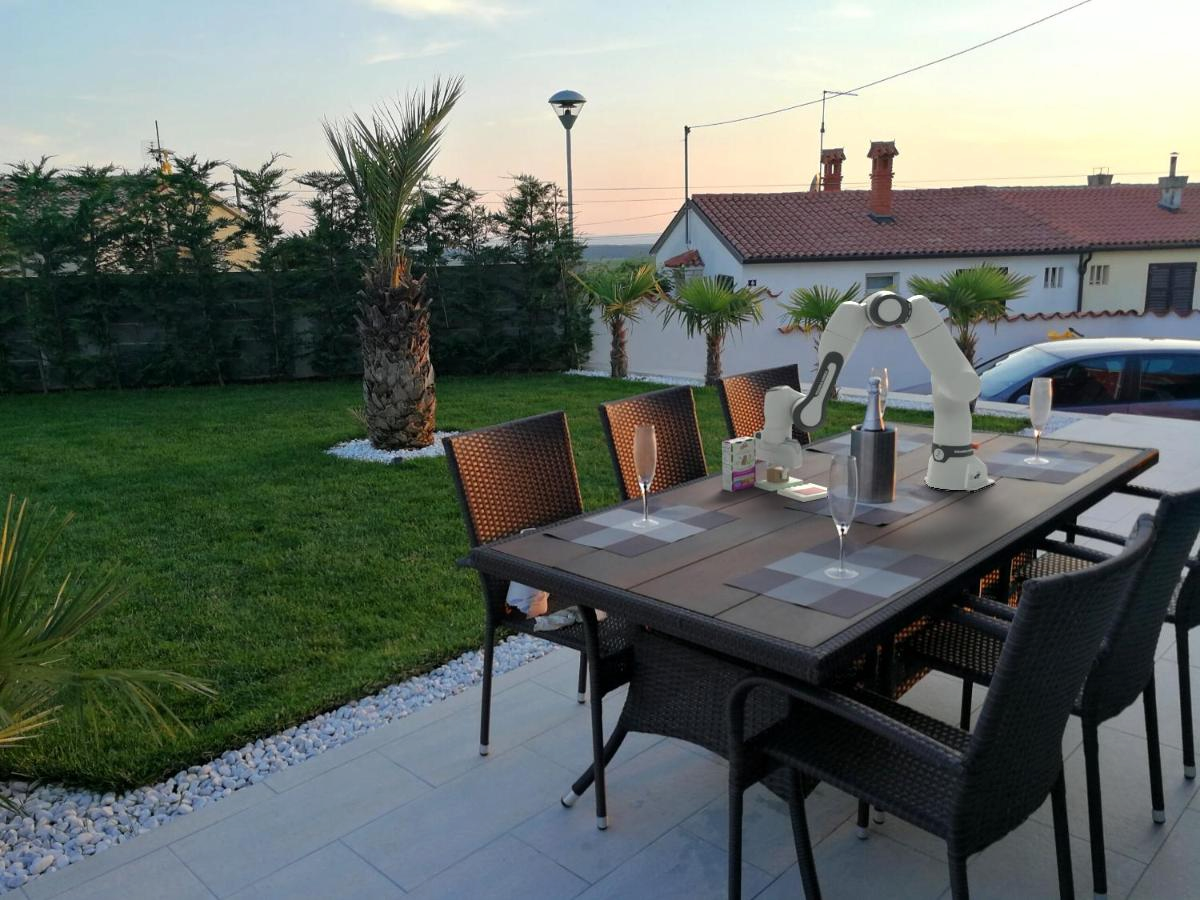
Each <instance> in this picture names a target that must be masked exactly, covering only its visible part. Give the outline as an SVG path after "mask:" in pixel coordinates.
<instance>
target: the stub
mask: <svg viewBox="0 0 1200 900" xmlns="http://www.w3.org/2000/svg"><path fill="white" fill-rule="evenodd" d="M782 471H783V469H782V466H777V467H773V468H771V469H768V468H766V479H763V480H758V481H757V480H756V482H754V487H755V488H759V489H763V490H764V491H768V492H775V491H777V490H778V489H783V488H788V487H793V486H799V485H804V480H803V479H799V478H795V477H793V476H790V470H789V471H788V473H787V478H786V479H782V478H780V473H782Z"/></svg>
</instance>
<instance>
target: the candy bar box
mask: <svg viewBox="0 0 1200 900" xmlns="http://www.w3.org/2000/svg"><path fill="white" fill-rule="evenodd" d="M721 459H722V460H721V462H722V463H721V465H722V467H721V468H722V469H721V470H722V471H721V473H722V490H725V491H728V492H732V493H733V492H736V491H741V490H744V489H745V490H746V489H749V488H753V487H755V486H754V482H756V481H757V479H756V477H757V476H756V467H757V466H756V458H755V438H754V437H753V436H752V437H751V436H742V437H740V436H739V437H736V438H732V439H731V438H730V439H728V440H722V441H721Z"/></svg>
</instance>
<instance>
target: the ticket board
mask: <svg viewBox="0 0 1200 900" xmlns="http://www.w3.org/2000/svg"><path fill="white" fill-rule="evenodd" d="M827 488H828V487H825V486H821V485H818V484H815V483H811V482H810V483H806V484H804V483H803V485H799V486H793V487H788V488H783V489H778V490H776V491H777V492H776V494H777V495H780V496H782V497H786V498H790V499H793V500H797V501H800V502H803V503H805V502H810V501H814V500H819V499H825V498H828V497H827Z"/></svg>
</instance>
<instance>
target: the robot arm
mask: <svg viewBox="0 0 1200 900" xmlns="http://www.w3.org/2000/svg"><path fill="white" fill-rule="evenodd" d="M899 325H900V326H901V327H902V328H903V329H904V330H905V332H906V334H907V337H908V339H909V340H910V342H911V344H912V346H913V347H914V349H915V351H916V353H917V355H918V356H919V358H920V360H921V362H922V363H923V364H924V366H925V367H926V368H927V370H928V372H930V374H931V376H930V385H931V393H932V394H931V397H932V398H931V399H932V406H933V407H932V408H933V417H934V418H933V419H934V421H933V436H932V437H933V441H932V442H931V444H930V448H931V450H930V453H931V456H930V457H929V460H928V464H927V465H928V467H927V471H926V472H927V474H926V476H924V479H923V480H925V485H926V484H927V485H928V486H927V485H926V486H927V487H929V486H930V487H929V488H931V487H934V488H933V489H935V488H940V489H949V490H977V489H979V488H981V487H984V486H986V485H989V484H991V483H994V482H995V483H996V481H995V479H993V478H990V477H988V467H987V465H986V463H984V462H983V461H982V460H981V459H980V458H978V457H977V456H976V455H975V451H974V450H977V451H978V450H979V449H980V443H975V442H973V443H972V442H971V441H972V428H973V427H972V425H973V418H972V414H971V409H970V402H972V401H973V400H975V399H977V398H978V396H979V395H980V394H981V391H982V380H981V379H980V377H979V375H978V374H977V373H976V371H975V369H974V368H973V366H972V365H971V363H970V361H969V360H968V358H967V357H966V356H965V354H964V353H963V352H962V350H961V348H960V347H959V346H958V345H957V343H956V341H955V340H954V337H953V336H952V334H951V332H950V330H949V328H948V326H947V324H946V322H945V321H944V319H943V317H942V316H941V314H940V313H939V311H938V310H937V308H936V307H935V306H934V304H933V303H932V302H931V301H930V299H929V298H928V297H926V296H925V295H914V296H910V297H909V298H905V297H903V296H901V295H900V294H898V293H897V292H893V291H889V290H879V291H878V290H877V291H874V292H872V293H870V294H868V295H866V296H865V297H864V298H863V299H861V300H860V301H859V302H855V301H848V300H847V301H844V302H841V303H840V304H839V305H838V306H837V308H836V309H835V311H834V312H833V314H832V315H831V317H830V318H829V320H828V321H827V324H826V326H825V328H824V331H823V333H822V334H821V337H820V340H819V343H818V348H817V354H818V368H817V373H816V374H815V377H814V380H813V382H812V385H811V387H810V389H809V391H808V393H807V394H805V393H801V392H799V391H797V390H795V389H793V388H792V387H790V386H789V385H779V386H774V387H770V388H769V389H768V390H767V391H766V393H765V396H764V404H763V405H764V408H763V413H764V418H765V419H764V424H763V429H761V430H758V431H754V432H753V438H755V460H759V461H763V462H765V466H766V469H771V468H774V466H773V465H778V466H781V467H782V469H783V471H782V473H780V478H782V479H786V478H787V473H788V471H789V472H790V469H801V467H802V466H803V453H802V452H803V451H802V447H801V444H800V442H799V440H798V439H796V438H792V437H793V436H792V431H793V429H792V427H793V424H794V426H795V428H796V429H798V430H799V431H801V432H804V433H814V432H817V431H819V430H820V429H821V428H822V427H823V426H824V424H825V422H826V418H827V403H828V401H829V399H830V396H831V394H832V391H833V389H834V387H835V385H836V383H837V381H838V378H839V376H840V374H841V372H842V370H843V369H844V367H845V365H846V364H847V362H848V361H849V360H850V358H851V356H852V354H853V352H854V351H855V349H856V347H857V345H858V343H859V340H860V339H861V337H862V336H861V335H862V334H863V333H864V331H865V330H866V329H867V328H869V327H870V326H875V327H877V328H878V327H879V328H891V327H896V326H899ZM940 489H939V490H940ZM949 490H948V491H949ZM977 491H978V490H977Z"/></svg>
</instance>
